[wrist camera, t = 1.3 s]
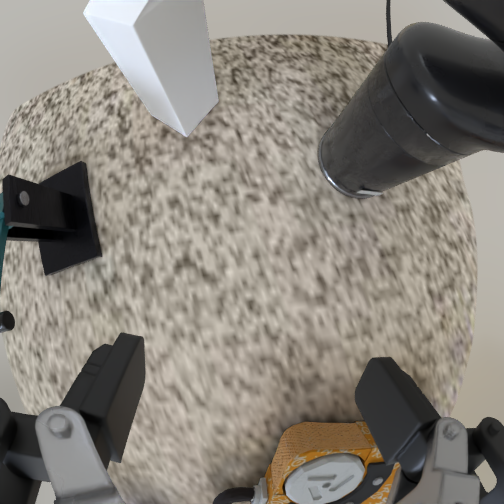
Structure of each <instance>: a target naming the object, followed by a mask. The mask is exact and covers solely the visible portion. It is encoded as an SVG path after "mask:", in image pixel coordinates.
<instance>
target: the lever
mask: <svg viewBox="0 0 504 504" xmlns="http://www.w3.org/2000/svg"><path fill="white" fill-rule="evenodd" d="M12 227H13V226H7V225H5V219H4V206H3V192H2V193H1V194H0V289H1V277H2V267H3V259H4V252H5V246H6V240H7V234H8V230H9V229H10V228H12ZM14 326H15V320H14V317H13V315H12V314H11V313H10V312H9V311H4V312H1V313H0V333H2V332H6V331H10V330H12V329H13V328H14Z"/></svg>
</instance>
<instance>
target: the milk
mask: <svg viewBox="0 0 504 504" xmlns="http://www.w3.org/2000/svg"><path fill="white" fill-rule="evenodd" d="M83 14H84V16H85V17H86V18H87V20H88V22H89V23H90V25H91V26H92V28H93V29H94V31H95V32H96V34H97V35H98V37H99V38H100V40H101V41H102V43H103V44H104V46H105V47H106V49H107V50H108V52H109V53H110V54H111V56H112V58H113V59H114V61H115V62H116V64H117V65H118V67H119V68H120V70H121V71H122V73H123V74H124V76H125V77H126V79H127V80H128V82H129V83H130V85H131V86H132V87H133V89H134V90H135V92H136V93H137V95H138V96H139V98H140V99H141V101H142V102H143V104H144V105H145V107H146V108H147V110H148V111H149V113H150V114H151V115H152V116H153V117H155V118H157V119H158V120H160V121H161V122H163V123H165V124H166V125H168V126H170V127H171V128H173V129H174V130H176V131H178V132H179V133H181V134H182V135H184V136H186V137H188V136H189V135H190V133H191V132H192V131H193V130H194V129H195V128H196V126H197V125H198V124H199V123H200V122H201V121H202V120H203V118H204V117H205V116H206V115H207V114H208V113H209V112H210V111H211V109H212V108H213V107H214V106H215V105H216V104H217V103H218V102H219V99H218V93H217V86H216V80H215V74H214V67H213V61H212V55H211V48H210V42H209V35H208V29H207V22H206V15H205V9H204V2H203V0H90V1H89V3H88V5H87V6H86V8H85V10H84V13H83Z"/></svg>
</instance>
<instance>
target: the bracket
mask: <svg viewBox="0 0 504 504" xmlns="http://www.w3.org/2000/svg"><path fill="white" fill-rule="evenodd" d="M3 206H4V219H5V225H7V226H13V227H12V228H10V229H9V230H8V234H7V240H11V241H37V242H39V248H40V254H41V259H42V264H43V268H44V273H45V276H47V275H52V274H55V273H57V272H60V271H63V270H65V269H68V268H71V267H74V266H76V265H79V264H82V263H85V262H87V261H90V260H93V259H96V258H99V257H102V253H101V249H100V244H99V240H98V235H97V230H96V225H95V220H94V215H93V209H92V203H91V197H90V191H89V184H88V176H87V168H86V163H84V162H82V161H80V162H78V163H76V164H74V165H72V166H70V167H68V168H66V169H64V170H63V171H61V172H59V173H57V174H55V175H53V176H52V177H50V178H48V179H46V180H44V181H43V182H41V183H39V184H36V183H33V182H30V181H27V180H24V179H21V178H18V177H15V176H11V175H7V176H6V177H5V178H3Z"/></svg>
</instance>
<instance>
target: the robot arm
mask: <svg viewBox="0 0 504 504" xmlns="http://www.w3.org/2000/svg"><path fill="white" fill-rule="evenodd" d="M443 1H444V2H446V3H447V4H448V5H449V6H451V7H452V8H453V9H454V10H456V11H457V12H458V13H459V14H460V15H462V16H463V17H464V18H465V19H467V20H468V21H469V22H470V23H472V24H473V25H474V26H475V27H476V28H477V29H479V30H480V31H481V32H482V33H484V34H485V35H486V36H487V37H488V38H489V39H490V40H488V39H483V38H478V37H474V36H471V35H468V34H465V33H461V32H459V31H456V30H453V29H451V28H448V27H445V26H442V25H438V24H434V23H429V22H418V23H414V24H410V25H408V26H407V27H405V28H404V29H403V30H402V31H401V32H400V33H399V34H398V35H397V37H396V38H395V39H394V41H393V42H392V36H391V21H390V0H387V6H386V17H387V18H386V20H387V38H388V49H387V50H386V52H385V53H384V54H383V56H382V57H381V58H380V60H379V61H378V63H377V64H376V65H375V67H374V68H373V70H372V71H371V72H370V74H369V75H368V77H367V78H366V79H365V81H364V82H363V83H362V85H361V86H360V88H359V89H358V90H357V92H356V93H355V94H354V96H353V97H352V99H351V100H350V101H349V103H348V104H347V105H346V107H345V108H344V110H343V111H342V112H341V114H340V115H339V117H338V118H337V119H336V121H335V122H334V123H333V125H332V126H331V128H330V129H328V130H327V132H326V133H325V134H324V136H323V137H322V139H321V141H320V144H319V148H318V160H319V164H320V168H321V170H322V172H323V174H324V176H325V178H326V179H327V181H328V182H329V183H330V184H331V185H332V186H333V187H334V188H335V189H336V190H338V191H339V192H341V193H342V194H344V195H346V196H349V197H352V198H358V199H364V198H370V197H373V196H375V195H377V196H378V195H381V194H383V193H381V192H382V191H385V190H387V189H390V188H392V187H395V186H397V185H399V184H402V183H404V182H407V181H409V180H411V179H414V178H416V177H419V176H421V175H423V174H426V173H428V172H431V171H433V170H436V169H438V168H440V167H443V166H445V165H447V164H450V163H452V162H455V161H457V160H459V159H462V158H464V157H467V156H469V155H471V154H474V153H477V152H479V151H481V150H490V151H495V152H501V153H504V0H443ZM144 383H145V352H144V338H143V337H141V336H136V335H131V334H127V333H120V334H119V336H118V338H117V339H116V341H115V343H114V344H113V346H112V345H108V344H103V345H102V346H100V347H99V348H97V349H96V350H94V351H93V352H92V354H91V355H90V357H89V359H88V360H87V363H86V364H85V365H84V367H83V368H82V370H81V372H80V373H79V375H78V376H77V378H76V380H75V381H74V383H73V385H72V386H71V388H70V390H69V391H68V393H67V395H66V396H65V398H64V400H63V402H62V403H61V405H60V406H54V407H50V408H47V409H46V410H44V411H43V412H41V413H40V414H39V416H35V415H28V414H22V413H15V412H11V411H10V409H9V407H8V405H7V403H6V402H5V401H4V400H3V399H2V398H0V504H35V502H36V498H37V495H38V492H39V488H40V485H41V482H42V481H46V482H51V484H52V487H53V489H54V492H55V496H56V500H55V501H54V504H125V502H124V501H123V499H122V497H121V496H120V494H119V492H118V491H117V489H116V487H115V486H114V484H113V482H112V480H111V478H110V476H109V475H108V473H107V469H108V465H109V462H110V460H111V461H115V462H118V463H121V460H122V456H123V453H124V449H125V446H126V442H127V439H128V435H129V432H130V429H131V425H132V422H133V419H134V416H135V413H136V409H137V406H138V403H139V400H140V397H141V394H142V391H143V388H144ZM355 402H356V404H357V406H358V408H359V410H360V412H361V414H362V416H363V418H364V420H365V422H366V424H367V426H368V429H369V431H370V433H371V435H372V437H373V439H374V441H375V443H376V445H377V447H378V449H379V451H380V453H381V455H382V458H383V460H384V462H385V464H386V466H387V465H390V464H394V463H397V462H399V464H400V466H399V467H398V468H397V470H396V472H395V476H394V479H393V482H392V486H391V489H390V492H389V495H388V498H387V501H386V504H504V426H503V425H502V424H501V423H500V422H499V421H498V420H497V419H495V418H491V417H486V418H484V419H483V420H482V421H481V422H480V424H479V425H478V426H477V428H467V429H466V428H465V427H464V425H463V424H462V423H461V422H459V421H458V420H456V419H454V418H450V417H444V418H441V417H440V415H439V414H438V413H437V411H436V410H435V409H434V407H433V406H432V405H431V403H430V402H429V401H428V399H427V398H426V396H425V395H424V394H422V391H421V390H420V389H419V387H417V385H416V383H415V382H414V381H413V379H412V378H411V377H410V376H409V375H408V374H406V373H405V372H404V371H402V370H401V369H400V367H399V366H398V365H397V364H396V362H395V361H394V360H393V359H392V358H391V357H377V358H372V359H370V361H369V362H368V364H367V366H366V369H365V371H364V373H363V375H362V377H361V379H360V381H359V383H358V385H357V387H356V390H355ZM485 459H486V461H487V462H488V464H489V465H490V467H491V469H492V471H493V472H494V474H495V476H496V478H497V484H496V486H495V488H494V489H493V490H491V491H490V492H489V493H488V492H486V491H485V489H484V487H483V485H482V483H481V482H480V479H479V476H477V475H476V473H475V471H474V470H475V469H476V468H477V467H478V466H479V465H480V464H481V463H482V462H483V461H484V460H485Z"/></svg>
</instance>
